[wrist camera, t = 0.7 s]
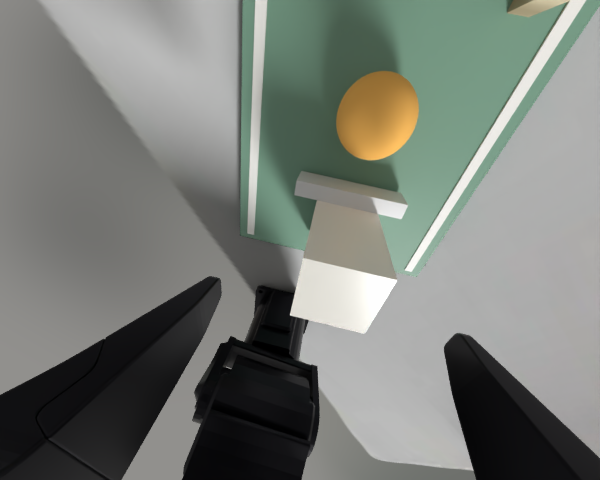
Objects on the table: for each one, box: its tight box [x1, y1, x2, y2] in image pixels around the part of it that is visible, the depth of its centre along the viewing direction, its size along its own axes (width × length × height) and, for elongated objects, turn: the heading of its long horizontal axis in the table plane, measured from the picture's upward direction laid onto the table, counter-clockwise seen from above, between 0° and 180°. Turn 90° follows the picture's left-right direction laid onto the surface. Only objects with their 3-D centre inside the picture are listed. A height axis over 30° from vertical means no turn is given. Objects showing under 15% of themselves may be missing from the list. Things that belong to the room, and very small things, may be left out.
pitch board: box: [240, 0, 600, 277], centre depth 13 cm, size 24×16×1 cm, turn 170°
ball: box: [336, 71, 419, 160], centre depth 11 cm, size 4×4×4 cm
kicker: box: [290, 171, 408, 334], centre depth 13 cm, size 5×7×8 cm
